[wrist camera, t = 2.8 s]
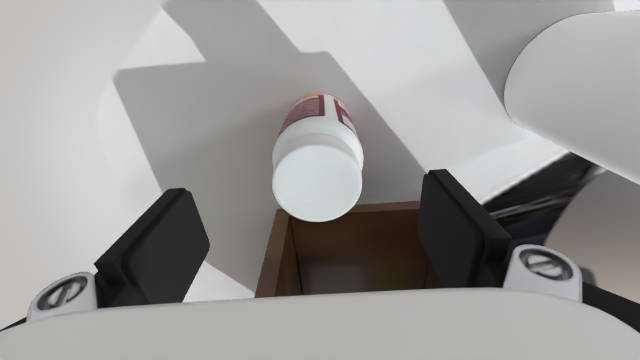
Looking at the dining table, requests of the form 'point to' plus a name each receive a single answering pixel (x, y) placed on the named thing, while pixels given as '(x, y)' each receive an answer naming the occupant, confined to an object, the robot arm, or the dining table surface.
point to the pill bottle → (317, 160)
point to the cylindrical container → (583, 88)
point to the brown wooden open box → (347, 253)
